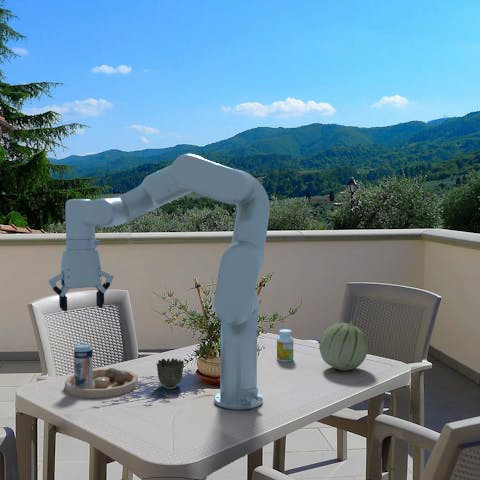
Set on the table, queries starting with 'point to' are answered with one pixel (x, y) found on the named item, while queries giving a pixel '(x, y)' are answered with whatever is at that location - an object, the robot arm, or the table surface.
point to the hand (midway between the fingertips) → (82, 308)
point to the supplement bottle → (285, 346)
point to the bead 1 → (110, 373)
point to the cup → (170, 372)
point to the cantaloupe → (343, 346)
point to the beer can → (83, 366)
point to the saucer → (102, 385)
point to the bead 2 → (120, 377)
